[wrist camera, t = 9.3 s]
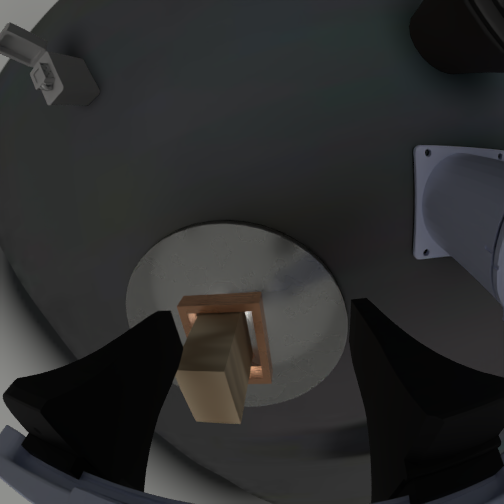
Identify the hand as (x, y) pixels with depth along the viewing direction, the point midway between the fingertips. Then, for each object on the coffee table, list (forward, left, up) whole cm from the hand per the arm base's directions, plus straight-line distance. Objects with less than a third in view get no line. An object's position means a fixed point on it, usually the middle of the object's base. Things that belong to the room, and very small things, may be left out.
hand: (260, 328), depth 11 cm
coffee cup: (-14, -14, -10) cm, 22 cm away
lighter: (+13, -16, -10) cm, 23 cm away
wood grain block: (+4, +6, -8) cm, 11 cm away
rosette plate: (+4, +7, -9) cm, 12 cm away
